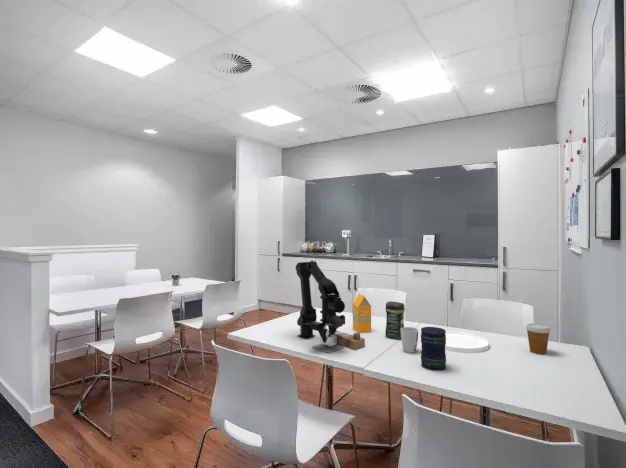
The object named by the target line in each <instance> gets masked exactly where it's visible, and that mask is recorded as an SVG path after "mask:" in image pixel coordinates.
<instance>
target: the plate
mask: <svg viewBox="0 0 626 468" xmlns="http://www.w3.org/2000/svg"><path fill="white" fill-rule="evenodd" d="M445 331H446V333H445V334H446V345H445V352H446V351H448V352H451V353H460V354H462V353H463V354H476V353H477V354H478V353H482V352H487V351H488V350H489V348H490V342H489V340H488V339H486V338H485V337H484V336H483V337H482V336H479V335H477V334H474V333H470V332H469V333H468V332H463V331H462V332H461V331H454V330H453V331H451V330H450V331H448V330H445Z"/></svg>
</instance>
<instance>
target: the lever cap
mask: <svg viewBox="0 0 626 468" xmlns="http://www.w3.org/2000/svg"><path fill="white" fill-rule="evenodd" d="M319 344H325V345H328V346H332V345H335V344H336V345H338V344H337V336H336V335H334V334H332V333H326V342H325V343H324V342H323V340H322V338H321V336H320V335H319Z"/></svg>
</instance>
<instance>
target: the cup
mask: <svg viewBox="0 0 626 468" xmlns="http://www.w3.org/2000/svg"><path fill="white" fill-rule="evenodd" d="M400 330H401V339H400V340H401V346H402V348H403V351H404V352H405V353H408V354H409V353H410V354H413V353H416V350H417V347H418V342H419V329H418V328H416V327H411V326H406V327H405V326H404V327H403V328H401V329H400Z"/></svg>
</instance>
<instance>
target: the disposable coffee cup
mask: <svg viewBox="0 0 626 468" xmlns="http://www.w3.org/2000/svg"><path fill="white" fill-rule="evenodd" d="M525 329H526V333H527V338H528V339H527V340H528V346H529V347H528V348H529V352H531V353H532V354H535V355H547V350H548V344H549V336H550V333H551V329H550V326H548V325H546V324H541V323H527V324H526V326H525Z"/></svg>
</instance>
